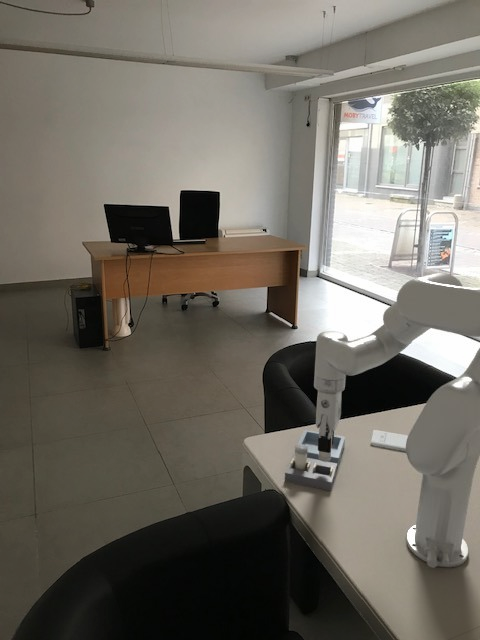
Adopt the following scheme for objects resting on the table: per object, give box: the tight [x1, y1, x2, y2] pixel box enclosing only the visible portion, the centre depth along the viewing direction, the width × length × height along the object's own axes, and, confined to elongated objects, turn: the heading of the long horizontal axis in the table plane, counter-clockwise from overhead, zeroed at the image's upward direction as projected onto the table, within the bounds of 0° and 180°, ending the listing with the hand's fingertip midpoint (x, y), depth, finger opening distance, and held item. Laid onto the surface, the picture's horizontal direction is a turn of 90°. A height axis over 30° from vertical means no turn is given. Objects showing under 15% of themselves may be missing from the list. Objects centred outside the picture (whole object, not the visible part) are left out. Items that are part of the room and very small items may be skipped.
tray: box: [297, 429, 346, 469], centre depth 150 cm, size 12×12×3 cm
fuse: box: [294, 443, 308, 471], centre depth 138 cm, size 3×3×8 cm
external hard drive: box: [370, 429, 409, 452], centre depth 156 cm, size 2×8×12 cm
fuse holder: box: [284, 454, 338, 492], centre depth 138 cm, size 9×12×4 cm
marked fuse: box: [318, 430, 333, 462], centre depth 135 cm, size 3×3×8 cm
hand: (325, 447), depth 135 cm, fingers closed on marked fuse, 3 cm apart
